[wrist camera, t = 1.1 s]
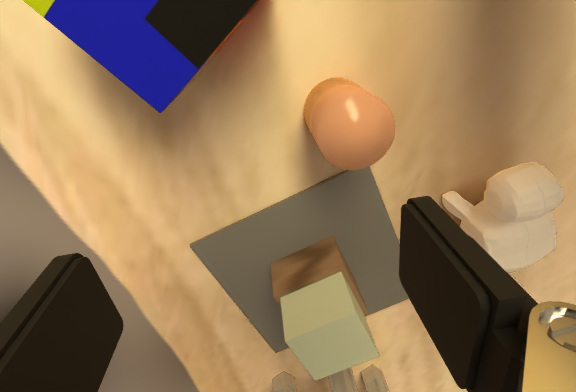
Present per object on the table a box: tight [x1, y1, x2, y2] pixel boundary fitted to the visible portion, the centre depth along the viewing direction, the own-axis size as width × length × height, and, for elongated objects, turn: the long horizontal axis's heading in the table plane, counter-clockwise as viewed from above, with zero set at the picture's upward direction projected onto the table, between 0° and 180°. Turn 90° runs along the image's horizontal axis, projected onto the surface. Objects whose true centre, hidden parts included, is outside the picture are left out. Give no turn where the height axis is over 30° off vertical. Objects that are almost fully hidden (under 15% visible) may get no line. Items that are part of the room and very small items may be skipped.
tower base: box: [271, 235, 369, 316], centre depth 36 cm, size 8×8×5 cm
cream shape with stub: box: [442, 162, 564, 273], centre depth 33 cm, size 9×8×15 cm
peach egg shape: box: [304, 78, 395, 170], centre depth 27 cm, size 6×6×7 cm
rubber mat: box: [190, 167, 409, 353], centre depth 38 cm, size 20×20×1 cm
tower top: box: [280, 272, 380, 381], centre depth 31 cm, size 6×6×5 cm
